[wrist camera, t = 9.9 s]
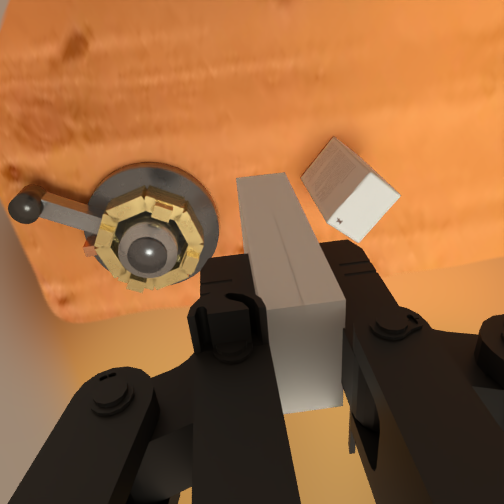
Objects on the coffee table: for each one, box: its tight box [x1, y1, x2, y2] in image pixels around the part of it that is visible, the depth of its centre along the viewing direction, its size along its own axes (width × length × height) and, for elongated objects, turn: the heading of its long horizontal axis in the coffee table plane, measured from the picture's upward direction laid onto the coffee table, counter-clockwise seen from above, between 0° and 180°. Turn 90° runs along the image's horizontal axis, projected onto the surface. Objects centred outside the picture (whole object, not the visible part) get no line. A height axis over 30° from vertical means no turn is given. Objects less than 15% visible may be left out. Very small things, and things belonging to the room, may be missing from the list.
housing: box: [83, 162, 219, 285], centre depth 48 cm, size 15×15×8 cm
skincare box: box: [301, 137, 401, 243], centre depth 45 cm, size 6×4×12 cm
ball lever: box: [8, 184, 204, 293], centre depth 46 cm, size 19×11×4 cm, turn 67°
